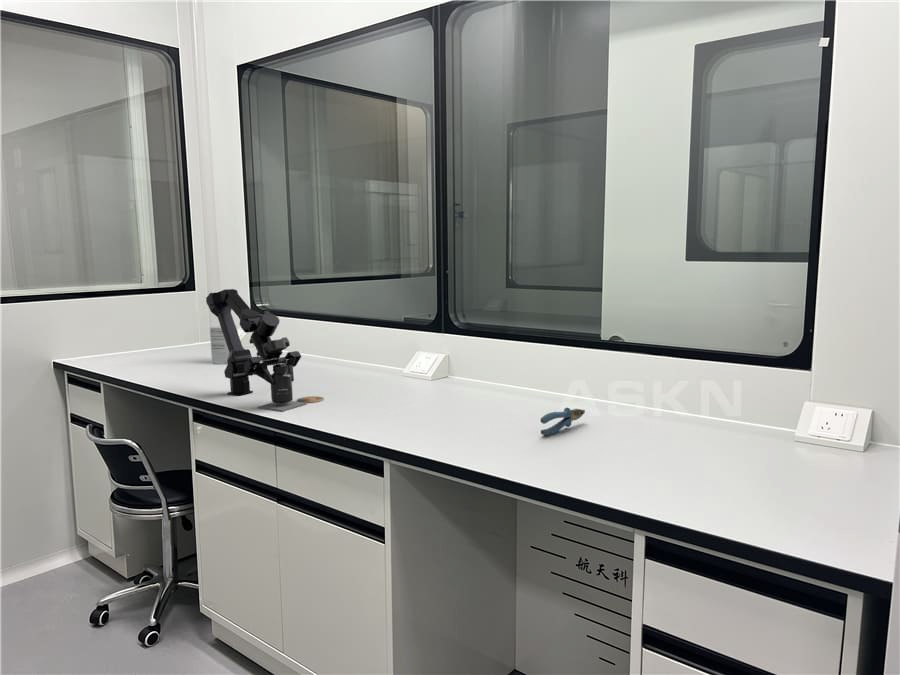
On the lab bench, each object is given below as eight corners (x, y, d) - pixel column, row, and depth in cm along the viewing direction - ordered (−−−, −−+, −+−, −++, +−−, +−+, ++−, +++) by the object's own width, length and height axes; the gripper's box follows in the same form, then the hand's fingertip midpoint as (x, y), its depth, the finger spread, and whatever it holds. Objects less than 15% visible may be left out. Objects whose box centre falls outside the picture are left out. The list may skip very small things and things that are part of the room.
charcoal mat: (258, 407, 218) (257, 406, 218) (282, 400, 227) (282, 399, 227) (282, 411, 212) (282, 410, 212) (306, 404, 222) (306, 403, 222)
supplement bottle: (281, 404, 215) (279, 368, 213) (267, 402, 219) (264, 366, 217) (297, 399, 221) (295, 364, 219) (283, 397, 225) (280, 362, 223)
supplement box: (221, 360, 312) (219, 324, 310) (240, 360, 311) (238, 324, 308) (211, 364, 302) (209, 327, 300) (230, 364, 301) (228, 327, 299)
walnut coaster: (291, 401, 227) (291, 400, 227) (309, 395, 234) (309, 395, 234) (311, 404, 222) (311, 403, 222) (329, 398, 230) (329, 398, 230)
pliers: (580, 421, 195) (580, 401, 194) (586, 423, 193) (586, 403, 193) (538, 436, 181) (538, 415, 180) (544, 437, 179) (544, 416, 179)
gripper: (246, 333, 213) (265, 371, 207) (297, 327, 226) (316, 363, 220) (235, 354, 219) (254, 392, 213) (285, 347, 232) (304, 383, 226)
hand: (283, 382), depth 218 cm, fingers closed on supplement bottle, 7 cm apart
